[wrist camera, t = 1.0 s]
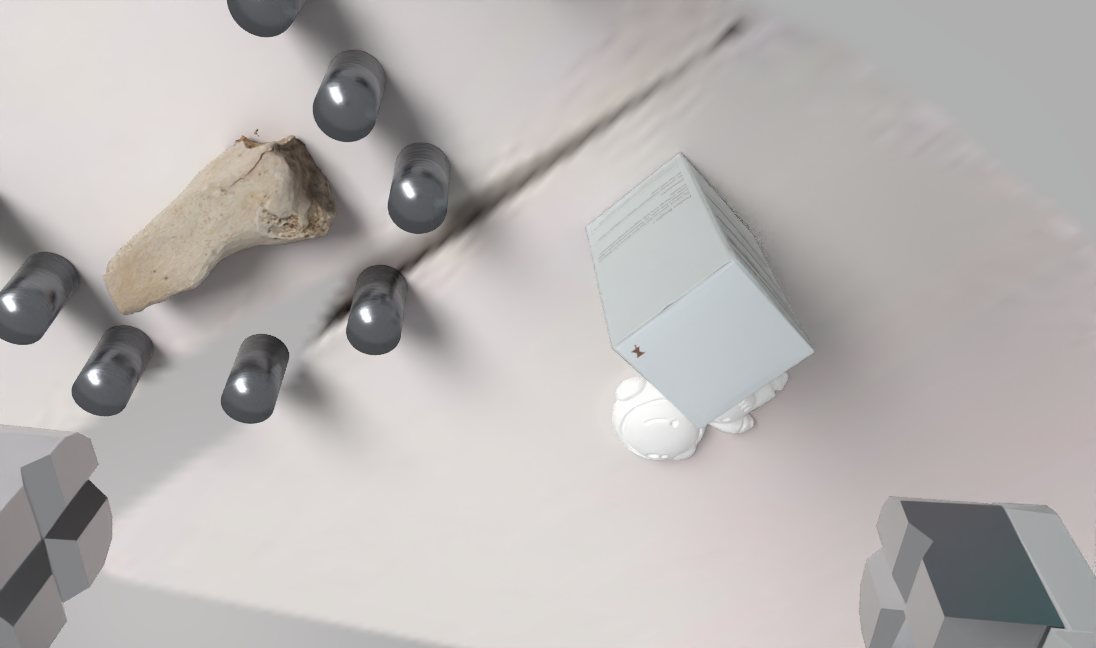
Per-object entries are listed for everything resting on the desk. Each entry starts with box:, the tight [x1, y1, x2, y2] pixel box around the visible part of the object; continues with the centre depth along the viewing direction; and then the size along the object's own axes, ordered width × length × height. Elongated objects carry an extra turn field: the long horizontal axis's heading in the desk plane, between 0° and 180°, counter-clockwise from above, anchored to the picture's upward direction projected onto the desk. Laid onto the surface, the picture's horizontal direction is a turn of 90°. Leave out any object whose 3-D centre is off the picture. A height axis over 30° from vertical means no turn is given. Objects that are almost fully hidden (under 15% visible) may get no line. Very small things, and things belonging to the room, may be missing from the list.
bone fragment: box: [103, 129, 337, 315], centre depth 50 cm, size 14×6×5 cm, turn 117°
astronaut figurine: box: [612, 372, 788, 460], centre depth 61 cm, size 9×12×3 cm
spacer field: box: [0, 0, 450, 424], centre depth 50 cm, size 20×25×5 cm
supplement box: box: [586, 153, 815, 429], centre depth 49 cm, size 7×7×13 cm
